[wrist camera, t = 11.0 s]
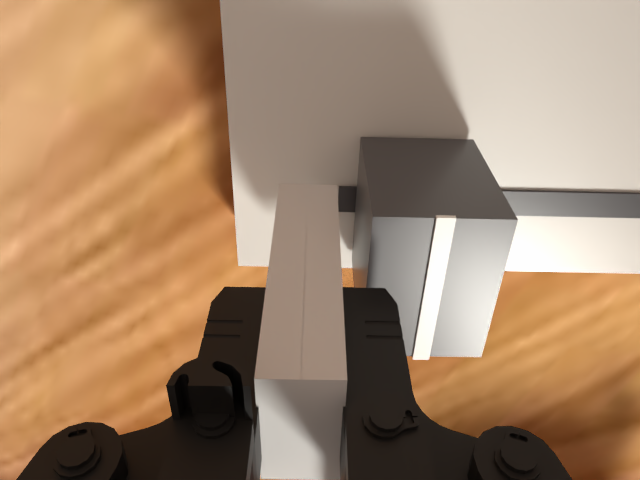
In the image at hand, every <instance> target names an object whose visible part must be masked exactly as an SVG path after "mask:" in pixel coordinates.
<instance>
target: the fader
mask: <svg viewBox="0 0 640 480" xmlns="http://www.w3.org/2000/svg"><path fill="white" fill-rule="evenodd" d="M517 222H518V219H517V217H516V215H515V213H514V212H513V210H512V208H511V206H510V204H509V203H508V201H507V199H506V197H505V195H504V194H503V192H502V190H501V188H500V186H499V185H498V183H497V181H496V179H495V177H494V176H493V174H492V172H491V170H490V168H489V167H488V165H487V163H486V161H485V159H484V158H483V156H482V154H481V152H480V150H479V149H478V147H477V145H476V143H475V141H474V140H473V139H433V138H390V137H360V151H359V165H358V179H357V193H356V206H355V220H354V234H353V248H352V268H353V280H354V288H386V290H387V291H388V292H389V294H390V295H391V296H392V298H393V299H394V300H395V301H396V303H397V305H398V311H399V317H400V325H401V328H402V334H403V340H404V345H405V351H406V356H412V358H413V360H429V357H430V356H441V357H482V353H483V349H484V345H485V342H486V338H487V334H488V330H489V327H490V323H491V319H492V315H493V312H494V308H495V304H496V300H497V297H498V293H499V289H500V286H501V282H502V278H503V274H504V271H505V267H506V263H507V259H508V256H509V252H510V248H511V244H512V241H513V237H514V233H515V229H516V226H517Z"/></svg>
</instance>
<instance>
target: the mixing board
mask: <svg viewBox="0 0 640 480" xmlns="http://www.w3.org/2000/svg"><path fill="white" fill-rule="evenodd" d="M220 11H221V25H222V40H223V54H224V68H225V82H226V97H227V111H228V125H229V140H230V154H231V168H232V182H233V197H234V211H235V225H236V240H237V254H238V266H269V259H270V251H271V243H272V236H273V228H274V220H275V212H276V204H277V197H278V189H279V184H320V185H337V191H338V210H339V230H340V249H341V268H352V248H353V234H354V220H355V206H356V193H357V179H358V165H359V151H360V137H390V138H433V139H473V140H474V141H475V143H476V145H477V147H478V149H479V150H480V152H481V154H482V156H483V158H484V159H485V161H486V163H487V165H488V167H489V168H490V170H491V172H492V174H493V176H494V177H495V179H496V181H497V183H498V185H499V186H500V188H501V190H502V192H503V194H504V195H505V197H506V199H507V201H508V203H509V204H510V206H511V208H512V210H513V212H514V213H515V215H516V217H517V219H518V222H517V226H516V229H515V233H514V237H513V241H512V244H511V248H510V252H509V256H508V259H507V263H506V267H505V271H531V272H583V273H634V274H640V0H220Z"/></svg>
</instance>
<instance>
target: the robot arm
mask: <svg viewBox="0 0 640 480" xmlns="http://www.w3.org/2000/svg"><path fill="white" fill-rule="evenodd" d="M166 386H167V392H168V397H169V402H170V407H171V412H172V416H171V417H170V418H168V419H166V420H164V421H163V422H161V423H159V424H157V425H154V426H151V427H148V428H145V429H141V430H138V431H134V432H130V433H126V434H123V435H118V434H117V432H116V431H115V429H114V428H112V427H109V426H107V425H105V424H103V423H95V422H84V423H81V424H77V425H73V426H69V427H67V428H65V429H64V430H62V431H60V432H58V433H57V434H55V435H53V436H52V437H51V438H50V439H49V440H48V441H47V442H46V443H45V444H44V445H43V446H42V447H41V448H40V449H39V450H38V452H37V453H36V454H35V456H34V457H33V458H32V460H31V461H30V462H29V464H28V465H27V466H26V468H25V469H24V470H23V472H22V473H21V474H20V475H19V477H18V478H17V479H16V480H260V475H261V479H312V480H572V478H571V477H570V475H569V474H568V472H567V471H566V470H565V468H564V467H563V465H562V464H561V462H560V461H559V459H558V458H557V456H556V455H555V453H554V452H553V451H552V450H551V449H550V448H549V446H548V445H547V444H546V443H545V442H544V441H543V440H542V439H540V438H538V437H537V436H535V435H534V434H532V433H530V432H529V431H526V430H523V429H520V428H516V427H513V426H496V427H494V428H491V429H489V430H487V431H484V432H483V433H482V434H481V436H480V437H479V438H476V437H472V436H469V435H466V434H462V433H459V432H456V431H452V430H450V429H447V428H445V427H442V426H440V425H439V424H437V423H435V422H434V421H432V420H431V419H429V418H428V417H427V416H426V415H425V414H424V413H423V412H422V411H421V409H420V408H419V406H418V405H417V403H416V401H415V398H414V395H413V391H412V385H411V380H410V374H409V368H408V363H407V357H406V351H405V345H404V340H403V334H402V328H401V325H400V317H399V311H398V305H397V303H396V301H395V300H394V299H393V298H392V296H391V295H390V294H389V292H388V291H387V290H386V288H354V287H342V268H341V249H340V230H339V210H338V191H337V185H320V184H279V189H278V197H277V204H276V212H275V220H274V228H273V236H272V243H271V251H270V259H269V267H268V275H267V282H266V288H264V287H224V288H223V290H222V291H221V292H220V293H219V294H218V295H217V296H216V298H215V299H214V300H213V301H212V302H211V306H210V311H209V315H208V319H207V323H206V327H205V331H204V338H203V339H202V343H201V347H200V351H199V355H198V358H196V359H194V360H191V361H189V362H187V363H184V364H183V365H182V366H181V367H180V368H179V369H177V370H176V371H175V372H174V373H173V374H172V376H171V378H170V380H169V381H168V383H167V385H166Z"/></svg>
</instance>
